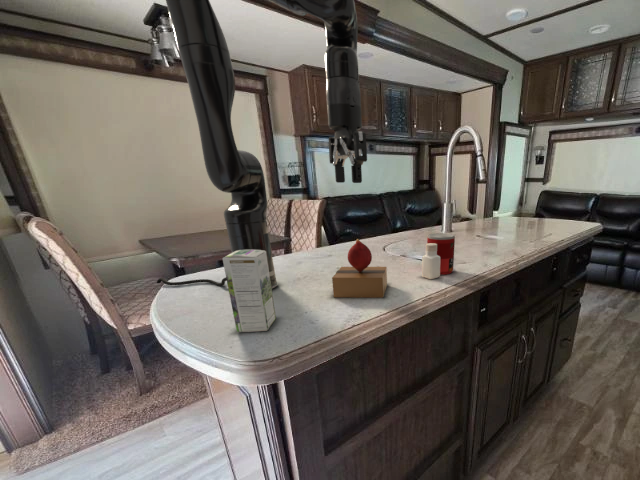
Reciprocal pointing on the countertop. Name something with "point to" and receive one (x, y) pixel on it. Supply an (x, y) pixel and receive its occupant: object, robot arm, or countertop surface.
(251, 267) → the syrup box
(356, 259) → the onion
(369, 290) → the cardboard box
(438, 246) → the canned food
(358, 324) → the countertop surface
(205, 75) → the robot arm
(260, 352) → the countertop surface
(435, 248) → the pepper shaker
